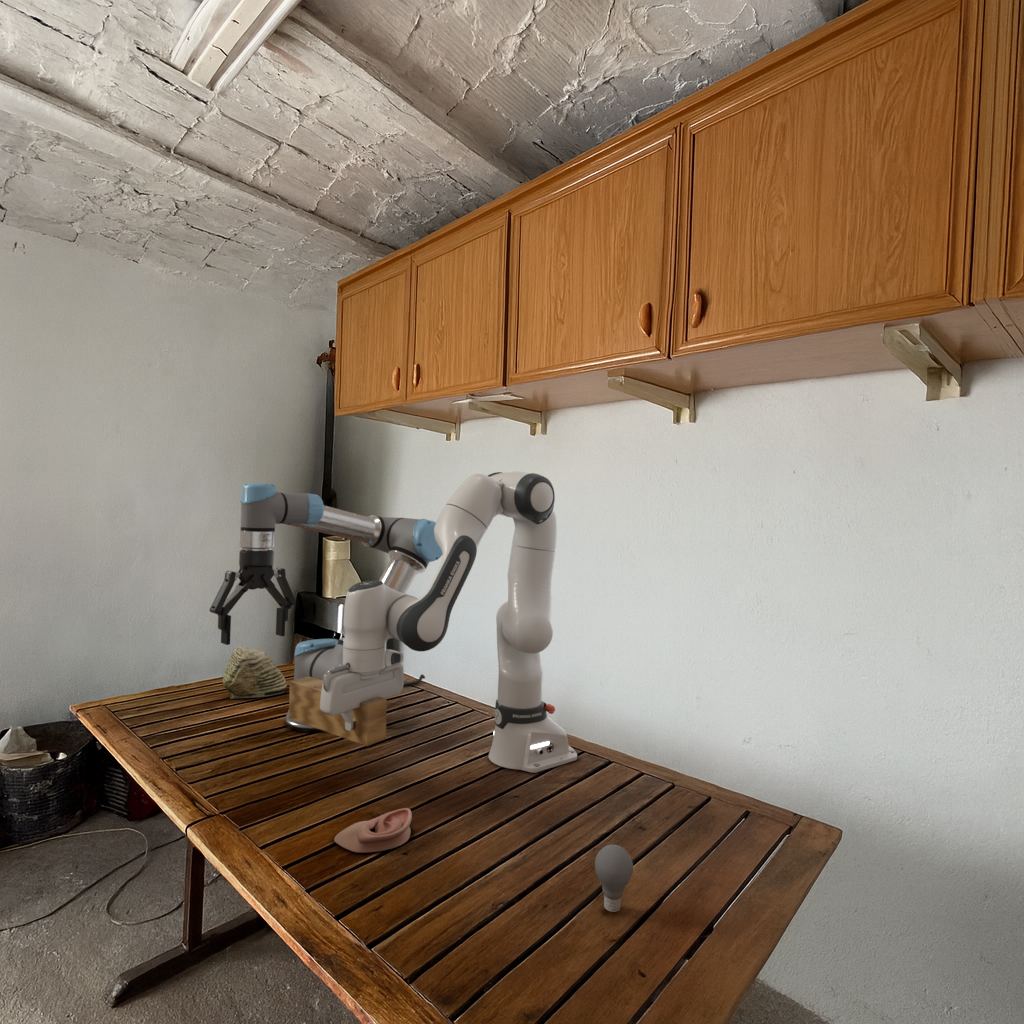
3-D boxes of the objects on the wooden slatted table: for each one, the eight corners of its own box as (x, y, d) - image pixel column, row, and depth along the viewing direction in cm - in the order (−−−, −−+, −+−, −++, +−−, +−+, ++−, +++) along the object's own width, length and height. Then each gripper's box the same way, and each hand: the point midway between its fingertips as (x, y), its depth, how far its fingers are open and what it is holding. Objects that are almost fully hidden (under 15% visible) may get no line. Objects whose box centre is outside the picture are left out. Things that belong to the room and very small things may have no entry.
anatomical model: (326, 826, 114) (355, 797, 125) (325, 847, 114) (354, 817, 126) (396, 837, 112) (418, 806, 123) (395, 859, 112) (417, 827, 123)
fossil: (218, 695, 195) (220, 647, 195) (278, 685, 208) (279, 640, 207) (228, 703, 189) (230, 653, 188) (289, 692, 201) (290, 645, 201)
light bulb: (589, 897, 103) (592, 837, 103) (625, 897, 104) (628, 837, 104) (597, 922, 97) (600, 857, 97) (635, 921, 98) (638, 857, 98)
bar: (288, 718, 142) (289, 681, 142) (308, 712, 147) (308, 676, 146) (367, 746, 128) (368, 705, 128) (385, 738, 132) (387, 698, 132)
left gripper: (211, 552, 136) (208, 650, 136) (312, 548, 155) (309, 634, 156) (195, 549, 141) (192, 644, 141) (295, 546, 160) (292, 629, 161)
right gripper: (334, 672, 122) (333, 743, 122) (409, 652, 139) (407, 715, 139) (313, 666, 125) (312, 735, 126) (388, 648, 142) (387, 709, 142)
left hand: (253, 639), depth 148 cm, fingers open, 13 cm apart
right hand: (362, 724), depth 132 cm, fingers closed on bar, 5 cm apart
